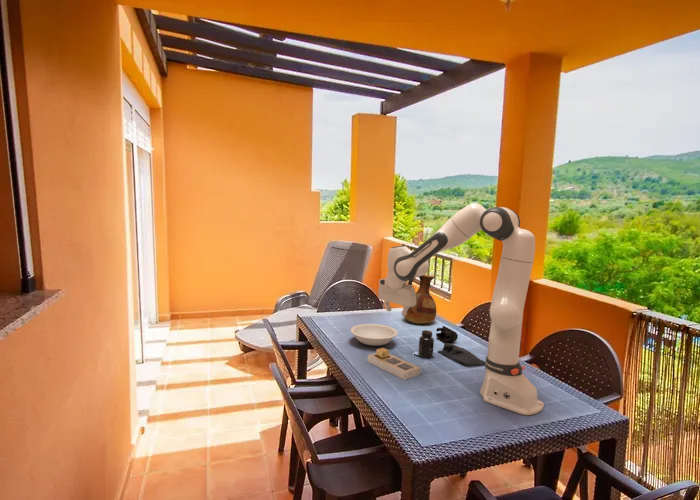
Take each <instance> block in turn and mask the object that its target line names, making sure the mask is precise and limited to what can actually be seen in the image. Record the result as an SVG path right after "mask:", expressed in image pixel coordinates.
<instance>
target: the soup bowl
mask: <svg viewBox="0 0 700 500" xmlns="http://www.w3.org/2000/svg"><path fill="white" fill-rule="evenodd" d="M350 333H351V334H352V335H353V336H354V337H355V339H356V340H357V341H359V343H361V344H364V345H367V346H372V347H373V346H374V347H375V346H376V347H377V346H378V347H379V346H384V345H386V344H389V343H390V342H392V340H393V339H394V338H395V337H397V335H398V331H397V329H395V328H393V327H391V326H388V325H385V324H377V323H362V324H357V325H354V326H352V327H351V328H350Z"/></svg>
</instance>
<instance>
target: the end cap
mask: <svg viewBox="0 0 700 500" xmlns="http://www.w3.org/2000/svg"><path fill="white" fill-rule="evenodd" d="M435 334H436V336H435V337H436V340H438V341H439V342H440V343H442V344H443V345H444V344H445V343H449V344H454V343H456V341H457V340H458V333H457V332H456V331H454V330H453V329H451V328H449V327H447V326H445V325H442V327H437V328H436V333H435Z"/></svg>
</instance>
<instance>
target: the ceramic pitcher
mask: <svg viewBox="0 0 700 500" xmlns="http://www.w3.org/2000/svg"><path fill="white" fill-rule="evenodd" d="M418 278H419V287H418V289H417V291H415V294H416V305H415V306H414V307H409V309H408V311H407V315H406V316H403V315H402V317H403V318H404V319H405V320H406V321H408V322H410V323H413V324H417V325H421V324H428V323H433V322H434V321H435V319H436V317H437V305H436V301H435V300H434V298H433V296H431V294H430V288H431V282H432V280H434V279H435V278H436V277H435V276H434V275H428V274H424V275H422V276H419V277H418ZM415 279H416V278H413V279H411V280H409V281H407V284H408V285H412V286H413V281H414V280H415ZM403 310H404V308H403ZM403 310H402V311H403Z"/></svg>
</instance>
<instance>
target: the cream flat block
mask: <svg viewBox="0 0 700 500" xmlns="http://www.w3.org/2000/svg"><path fill="white" fill-rule="evenodd" d="M367 362H368V363H369V364H372V365H373V366H375V367H377V368H379V369H381V370H383V371H385V372H387V373H389V374H392V375H393V376H396V377H398V378H400V379H402V380H404V381H405V380H409V379H411V378H415V377H418V376H420V375H421V371H422V370H421V369H422V368H421V367H420V366H418V365H415V364H413V363H410V362H409V361H406V360H404V359H402V358H400V357H398V356H395V355H393V354H390V353H389V358H386V359H380V358H378V357H376V352H375V353H371V354H367Z"/></svg>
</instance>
